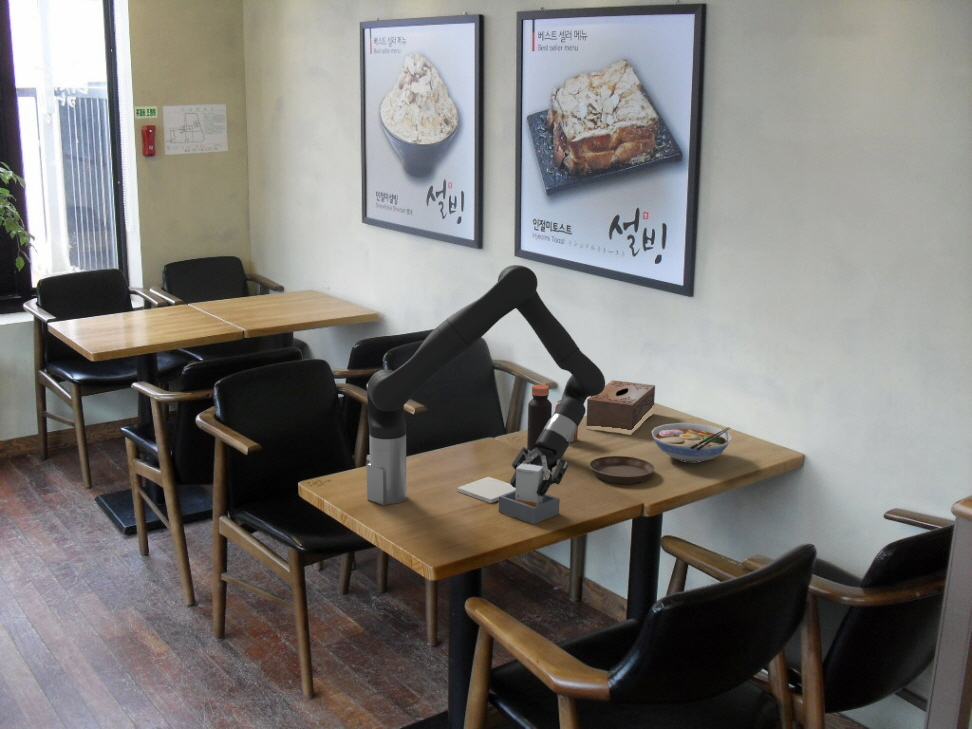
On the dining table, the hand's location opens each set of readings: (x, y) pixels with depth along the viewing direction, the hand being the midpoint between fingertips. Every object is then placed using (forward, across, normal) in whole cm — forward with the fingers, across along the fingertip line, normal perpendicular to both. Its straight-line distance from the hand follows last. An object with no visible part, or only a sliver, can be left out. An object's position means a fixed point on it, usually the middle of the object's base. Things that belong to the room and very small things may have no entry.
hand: (525, 490), depth 267 cm
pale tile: (+1, -17, +8) cm, 19 cm away
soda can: (-33, -30, +42) cm, 62 cm away
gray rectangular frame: (+3, 0, +5) cm, 6 cm away
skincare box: (+4, 0, +6) cm, 7 cm away
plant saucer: (-24, 0, +33) cm, 41 cm away
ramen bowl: (-42, +6, +51) cm, 66 cm away
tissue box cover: (-53, -30, +62) cm, 87 cm away
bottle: (-23, -28, +32) cm, 48 cm away
